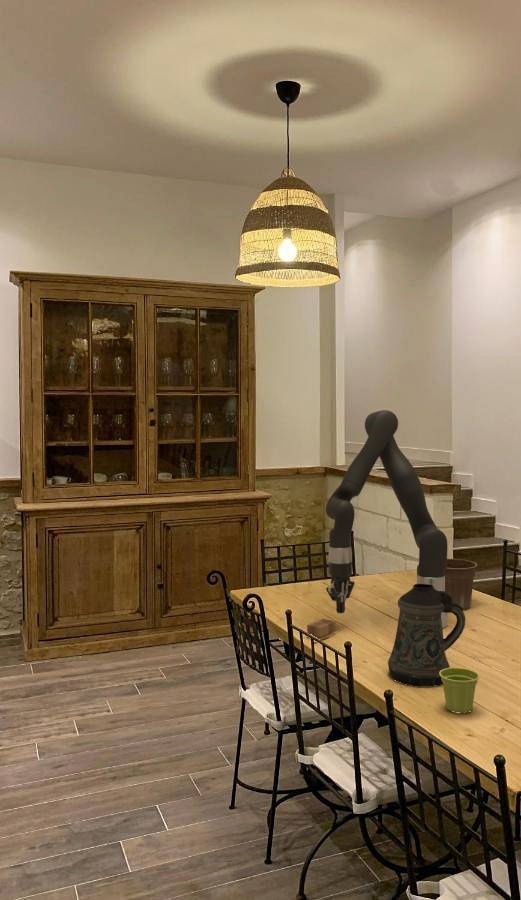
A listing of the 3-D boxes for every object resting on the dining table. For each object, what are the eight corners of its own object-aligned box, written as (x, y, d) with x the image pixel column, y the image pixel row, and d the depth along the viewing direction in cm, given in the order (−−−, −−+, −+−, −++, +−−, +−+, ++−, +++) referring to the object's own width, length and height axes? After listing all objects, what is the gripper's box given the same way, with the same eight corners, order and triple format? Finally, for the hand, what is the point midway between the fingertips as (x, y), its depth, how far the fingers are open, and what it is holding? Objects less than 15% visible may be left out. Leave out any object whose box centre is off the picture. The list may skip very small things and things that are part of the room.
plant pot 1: (475, 614, 260) (476, 569, 259) (428, 610, 265) (429, 566, 264) (477, 602, 275) (478, 560, 274) (433, 599, 280) (433, 557, 279)
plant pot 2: (436, 714, 175) (436, 678, 175) (441, 699, 184) (441, 665, 184) (477, 719, 172) (477, 683, 172) (480, 704, 181) (480, 669, 180)
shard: (314, 646, 228) (314, 640, 228) (294, 641, 233) (294, 635, 233) (334, 637, 236) (334, 632, 236) (315, 633, 241) (315, 627, 241)
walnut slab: (335, 621, 238) (320, 627, 231) (335, 630, 238) (320, 637, 231) (323, 618, 241) (307, 624, 234) (322, 627, 241) (307, 634, 234)
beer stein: (376, 670, 205) (376, 581, 203) (435, 661, 212) (435, 575, 210) (409, 691, 189) (410, 595, 188) (471, 680, 196) (472, 588, 195)
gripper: (337, 565, 232) (338, 619, 233) (361, 558, 241) (361, 610, 242) (318, 562, 237) (319, 615, 238) (342, 555, 246) (343, 606, 247)
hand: (340, 612), depth 240 cm, fingers closed
